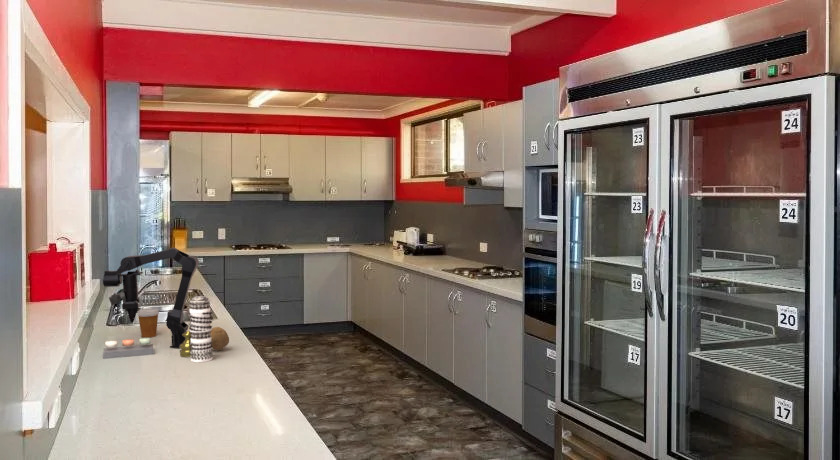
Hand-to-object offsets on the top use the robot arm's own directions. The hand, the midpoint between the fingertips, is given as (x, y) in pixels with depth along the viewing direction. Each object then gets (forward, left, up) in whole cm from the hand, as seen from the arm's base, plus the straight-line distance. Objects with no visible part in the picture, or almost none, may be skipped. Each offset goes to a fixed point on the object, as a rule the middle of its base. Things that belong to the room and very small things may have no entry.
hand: (132, 322), depth 324 cm
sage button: (-11, +4, -7) cm, 14 cm away
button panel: (-7, +9, -11) cm, 16 cm away
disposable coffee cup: (+13, -22, -11) cm, 28 cm away
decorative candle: (-42, +5, -11) cm, 43 cm away
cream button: (-2, +13, -7) cm, 15 cm away
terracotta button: (-7, +9, -7) cm, 13 cm away
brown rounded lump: (-37, -10, -11) cm, 40 cm away
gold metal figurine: (-32, +1, -11) cm, 34 cm away
